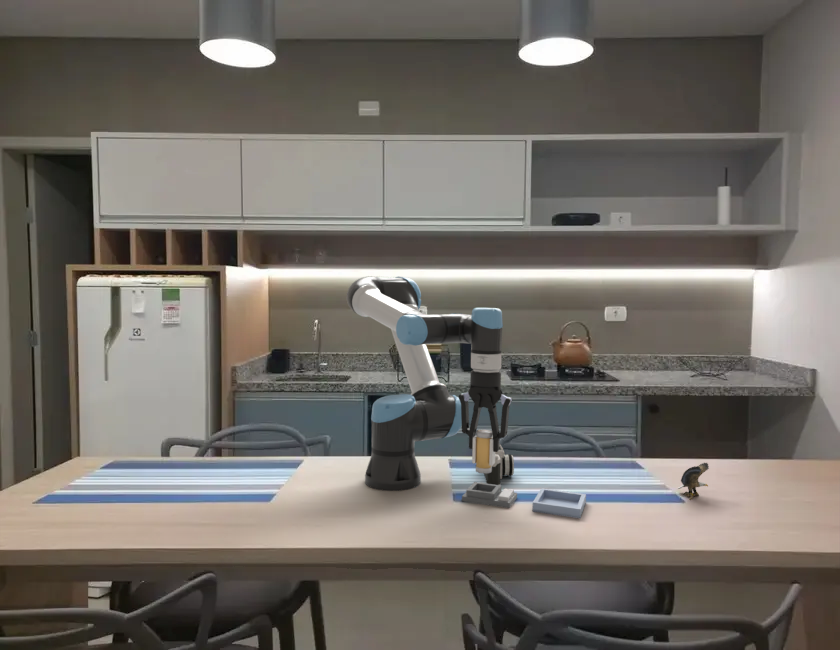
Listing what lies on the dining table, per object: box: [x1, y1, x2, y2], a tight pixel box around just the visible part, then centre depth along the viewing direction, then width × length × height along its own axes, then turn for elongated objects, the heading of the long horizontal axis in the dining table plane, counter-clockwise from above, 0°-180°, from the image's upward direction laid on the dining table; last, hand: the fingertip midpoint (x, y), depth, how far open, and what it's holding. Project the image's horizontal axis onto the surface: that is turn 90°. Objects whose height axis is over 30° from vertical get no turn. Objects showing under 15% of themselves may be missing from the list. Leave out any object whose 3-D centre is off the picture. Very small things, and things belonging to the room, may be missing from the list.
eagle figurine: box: [677, 462, 710, 501], centre depth 150 cm, size 8×7×9 cm
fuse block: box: [461, 481, 518, 509], centre depth 146 cm, size 12×8×3 cm, turn 68°
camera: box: [483, 443, 515, 485], centre depth 164 cm, size 16×9×10 cm, turn 179°
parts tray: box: [532, 487, 587, 519], centre depth 141 cm, size 11×11×2 cm
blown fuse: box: [475, 429, 493, 474], centre depth 147 cm, size 4×4×10 cm
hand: (483, 462), depth 147 cm, fingers closed on blown fuse, 4 cm apart
